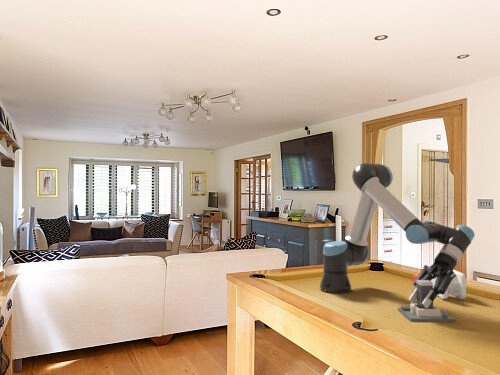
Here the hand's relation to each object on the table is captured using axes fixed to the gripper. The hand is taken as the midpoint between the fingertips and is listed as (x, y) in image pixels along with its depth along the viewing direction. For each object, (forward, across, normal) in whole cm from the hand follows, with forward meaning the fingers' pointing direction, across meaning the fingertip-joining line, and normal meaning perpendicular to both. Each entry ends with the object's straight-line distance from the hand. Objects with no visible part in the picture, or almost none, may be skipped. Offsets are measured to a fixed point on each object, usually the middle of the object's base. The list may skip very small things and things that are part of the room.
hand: (417, 303), depth 146 cm
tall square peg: (0, 0, -5) cm, 5 cm away
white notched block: (-22, +17, -29) cm, 40 cm away
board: (+1, 0, -6) cm, 6 cm away
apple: (-24, +36, -31) cm, 53 cm away
